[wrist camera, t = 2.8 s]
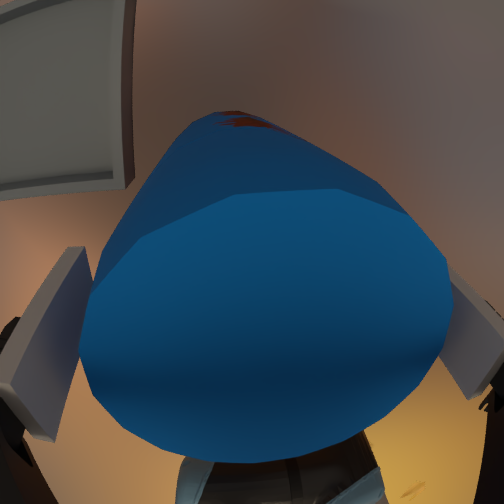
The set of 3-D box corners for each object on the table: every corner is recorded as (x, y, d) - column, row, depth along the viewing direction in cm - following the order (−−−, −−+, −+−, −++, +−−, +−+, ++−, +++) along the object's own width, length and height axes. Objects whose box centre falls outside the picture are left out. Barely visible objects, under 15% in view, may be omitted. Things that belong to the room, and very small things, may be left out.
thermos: (176, 104, 26) (37, 157, 4) (290, 116, 28) (508, 215, 6) (168, 213, 31) (115, 459, 9) (272, 221, 33) (372, 447, 11)
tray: (135, 177, 29) (125, 189, 25) (-16, 193, 26) (-35, 206, 23) (138, -18, 20) (129, -32, 16) (-23, 30, 17) (-44, 28, 13)
